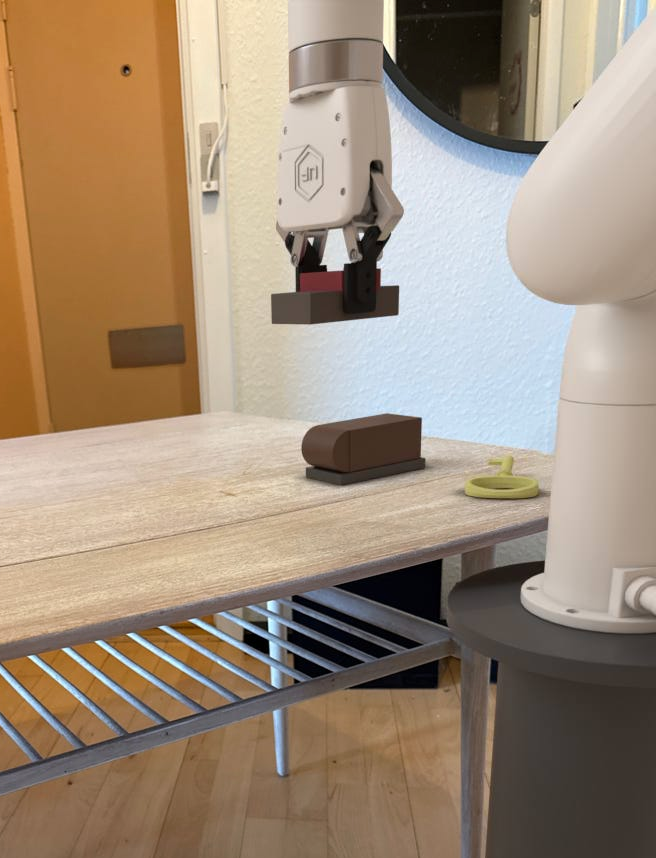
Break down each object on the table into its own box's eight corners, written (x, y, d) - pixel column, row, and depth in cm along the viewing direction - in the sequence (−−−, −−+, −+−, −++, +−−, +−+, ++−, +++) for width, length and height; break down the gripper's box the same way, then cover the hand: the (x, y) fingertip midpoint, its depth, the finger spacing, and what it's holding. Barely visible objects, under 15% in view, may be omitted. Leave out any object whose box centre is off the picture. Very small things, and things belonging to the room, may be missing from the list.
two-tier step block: (311, 324, 77) (310, 273, 75) (270, 323, 81) (269, 275, 80) (399, 315, 81) (401, 266, 80) (356, 315, 86) (356, 269, 84)
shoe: (335, 486, 104) (334, 433, 102) (299, 478, 109) (298, 427, 107) (425, 467, 110) (427, 417, 108) (387, 460, 116) (388, 412, 113)
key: (511, 473, 104) (512, 454, 103) (543, 498, 93) (545, 477, 92) (446, 476, 105) (447, 457, 104) (471, 502, 94) (472, 481, 93)
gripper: (236, 96, 80) (244, 316, 86) (373, 50, 66) (369, 316, 72) (304, 98, 83) (306, 310, 90) (448, 55, 69) (438, 309, 76)
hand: (334, 310), depth 81 cm, fingers closed on two-tier step block, 5 cm apart
